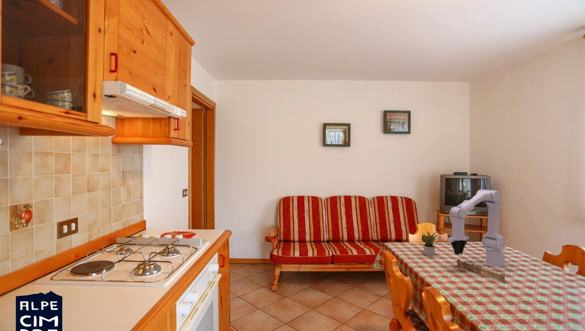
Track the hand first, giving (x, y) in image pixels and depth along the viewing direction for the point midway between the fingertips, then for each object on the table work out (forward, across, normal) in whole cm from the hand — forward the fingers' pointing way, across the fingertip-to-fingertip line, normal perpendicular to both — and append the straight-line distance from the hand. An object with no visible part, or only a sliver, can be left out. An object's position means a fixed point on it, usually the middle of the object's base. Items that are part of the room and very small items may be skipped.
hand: (458, 253), depth 151 cm
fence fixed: (+9, +5, -14) cm, 17 cm away
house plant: (+10, +9, +25) cm, 28 cm away
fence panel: (+9, +5, -1) cm, 10 cm away
